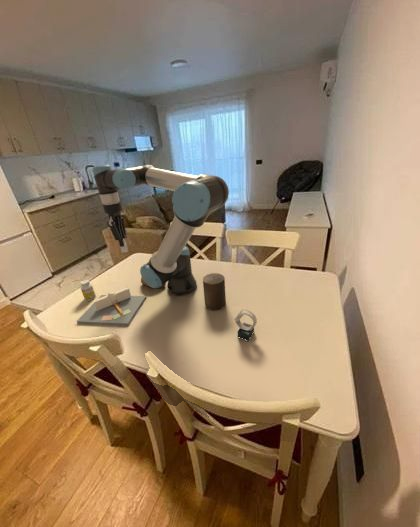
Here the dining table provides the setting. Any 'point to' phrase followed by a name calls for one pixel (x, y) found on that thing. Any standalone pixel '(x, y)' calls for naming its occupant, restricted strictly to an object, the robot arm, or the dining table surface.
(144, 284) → the bread roll
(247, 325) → the watch
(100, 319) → the grey tray
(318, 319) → the dining table surface
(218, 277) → the pillar candle
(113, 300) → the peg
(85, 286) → the supplement bottle
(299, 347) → the dining table surface
